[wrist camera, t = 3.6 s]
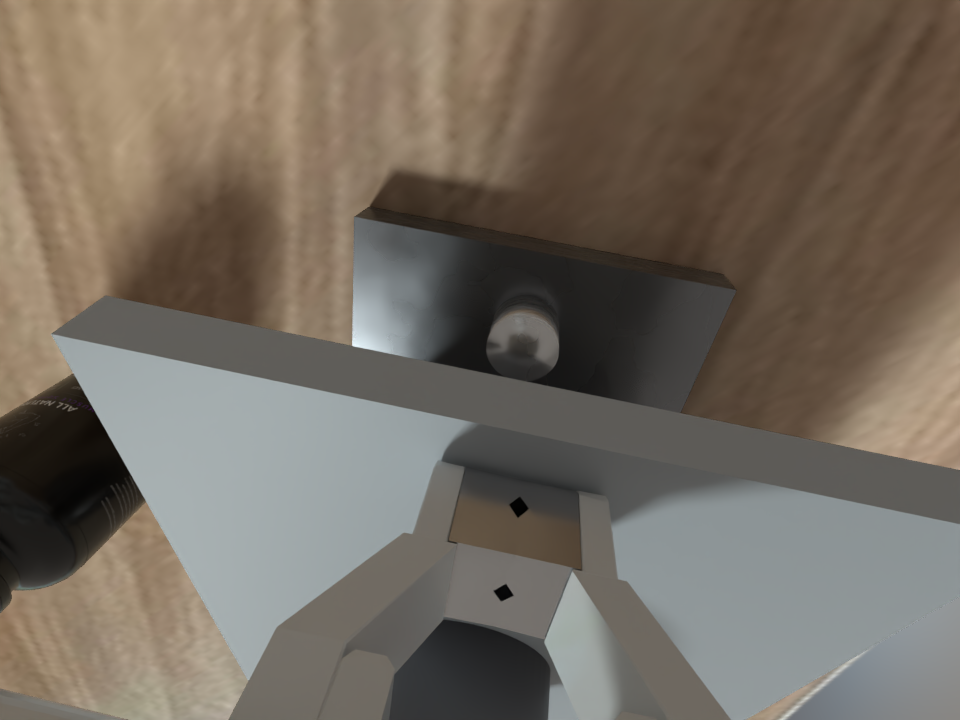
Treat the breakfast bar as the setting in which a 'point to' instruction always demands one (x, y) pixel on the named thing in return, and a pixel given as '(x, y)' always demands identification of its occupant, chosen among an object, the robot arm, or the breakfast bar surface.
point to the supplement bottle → (57, 489)
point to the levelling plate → (518, 454)
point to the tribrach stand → (533, 308)
